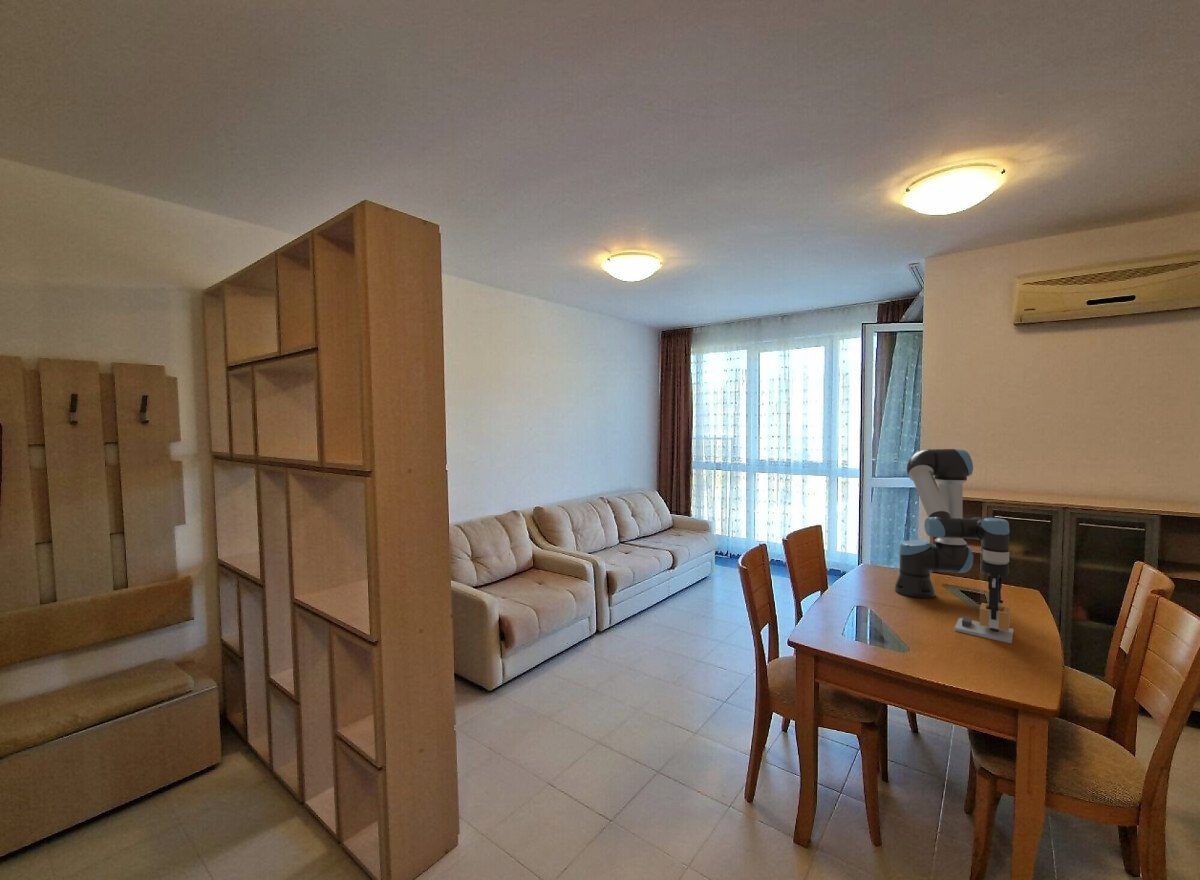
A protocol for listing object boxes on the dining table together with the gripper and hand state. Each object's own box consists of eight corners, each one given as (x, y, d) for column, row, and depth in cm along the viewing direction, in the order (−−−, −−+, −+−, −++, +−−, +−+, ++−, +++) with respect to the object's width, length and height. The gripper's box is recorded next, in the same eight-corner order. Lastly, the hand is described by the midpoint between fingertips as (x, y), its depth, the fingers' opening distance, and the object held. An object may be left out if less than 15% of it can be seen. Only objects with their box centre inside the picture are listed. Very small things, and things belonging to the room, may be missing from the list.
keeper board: (959, 620, 188) (959, 599, 188) (1013, 632, 177) (1013, 609, 177) (954, 630, 179) (954, 608, 179) (1011, 643, 168) (1011, 620, 168)
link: (981, 618, 181) (981, 602, 181) (1009, 624, 176) (1009, 607, 176) (979, 625, 175) (979, 608, 175) (1008, 631, 170) (1008, 614, 170)
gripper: (984, 554, 185) (984, 613, 186) (979, 566, 170) (978, 630, 171) (1010, 557, 180) (1010, 618, 181) (1007, 570, 165) (1006, 636, 166)
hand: (994, 624), depth 176 cm, fingers closed on link, 8 cm apart
